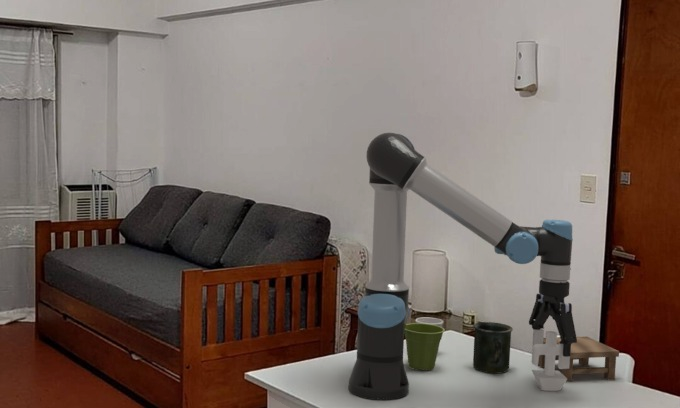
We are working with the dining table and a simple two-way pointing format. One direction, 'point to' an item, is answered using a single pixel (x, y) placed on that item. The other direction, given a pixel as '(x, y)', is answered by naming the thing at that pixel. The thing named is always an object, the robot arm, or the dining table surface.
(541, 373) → the figurine
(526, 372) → the dining table surface
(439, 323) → the dixie cup
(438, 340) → the plant pot
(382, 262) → the robot arm
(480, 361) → the mug
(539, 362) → the walnut stool
